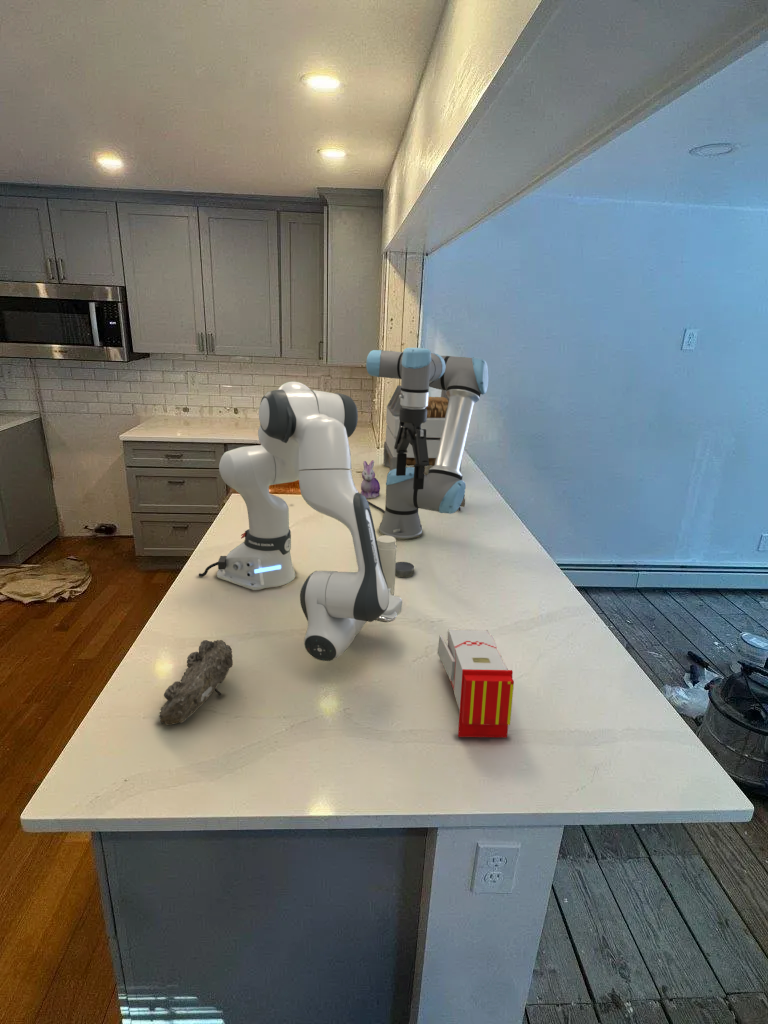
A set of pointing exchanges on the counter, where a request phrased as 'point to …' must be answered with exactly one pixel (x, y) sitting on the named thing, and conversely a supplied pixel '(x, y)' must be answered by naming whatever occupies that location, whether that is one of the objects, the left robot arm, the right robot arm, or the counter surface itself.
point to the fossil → (197, 681)
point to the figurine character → (462, 503)
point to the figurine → (369, 481)
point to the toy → (478, 682)
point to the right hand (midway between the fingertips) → (409, 482)
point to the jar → (388, 559)
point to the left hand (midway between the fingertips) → (370, 586)
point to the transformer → (432, 426)
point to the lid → (404, 569)
